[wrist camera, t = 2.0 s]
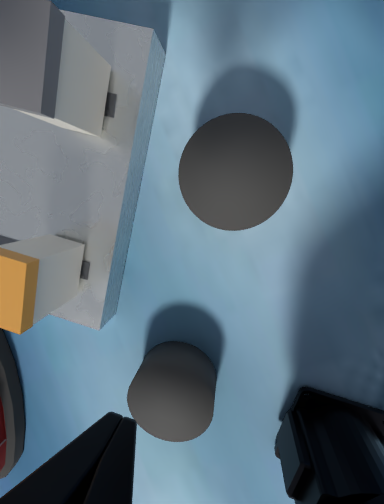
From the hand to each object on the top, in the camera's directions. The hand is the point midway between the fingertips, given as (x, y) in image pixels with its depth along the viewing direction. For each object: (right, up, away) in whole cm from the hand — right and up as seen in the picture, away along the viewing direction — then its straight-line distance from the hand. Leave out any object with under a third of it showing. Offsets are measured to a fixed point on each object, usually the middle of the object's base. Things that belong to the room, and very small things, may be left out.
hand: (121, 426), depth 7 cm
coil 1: (+1, -5, +13) cm, 14 cm away
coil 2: (+5, +10, +9) cm, 14 cm away
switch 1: (-4, +14, +7) cm, 16 cm away
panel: (-8, +11, +11) cm, 17 cm away
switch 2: (-6, +4, +9) cm, 12 cm away
